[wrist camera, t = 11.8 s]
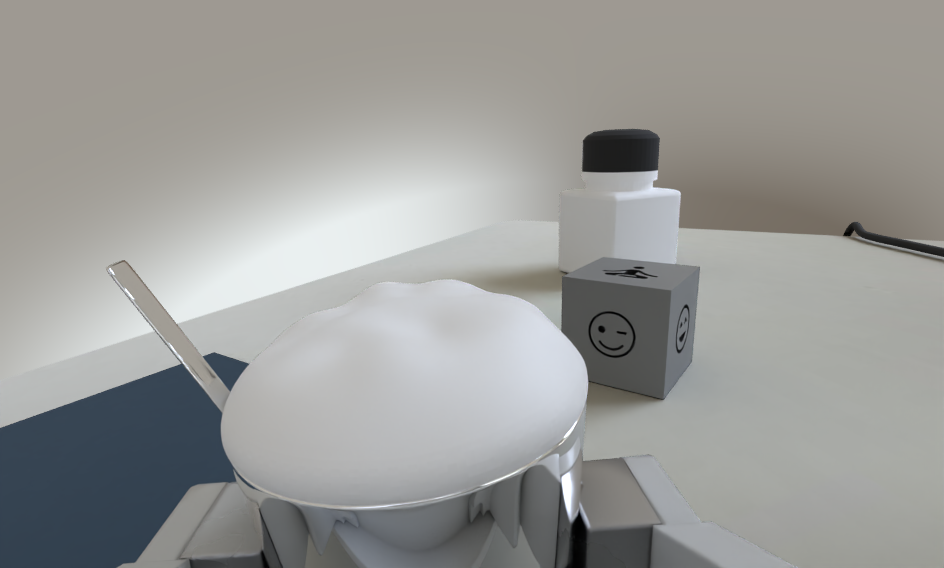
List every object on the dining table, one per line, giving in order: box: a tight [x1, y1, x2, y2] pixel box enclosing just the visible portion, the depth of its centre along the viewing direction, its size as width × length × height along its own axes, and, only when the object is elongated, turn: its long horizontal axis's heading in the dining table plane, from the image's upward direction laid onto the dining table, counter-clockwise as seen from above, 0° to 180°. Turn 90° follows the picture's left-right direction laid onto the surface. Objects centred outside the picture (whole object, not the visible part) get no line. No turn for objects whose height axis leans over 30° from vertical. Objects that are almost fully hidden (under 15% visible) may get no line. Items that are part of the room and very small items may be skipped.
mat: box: [0, 353, 249, 568], centre depth 17 cm, size 20×16×1 cm
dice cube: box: [561, 257, 700, 399], centre depth 26 cm, size 5×5×5 cm
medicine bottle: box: [559, 129, 681, 273], centre depth 44 cm, size 7×7×12 cm
